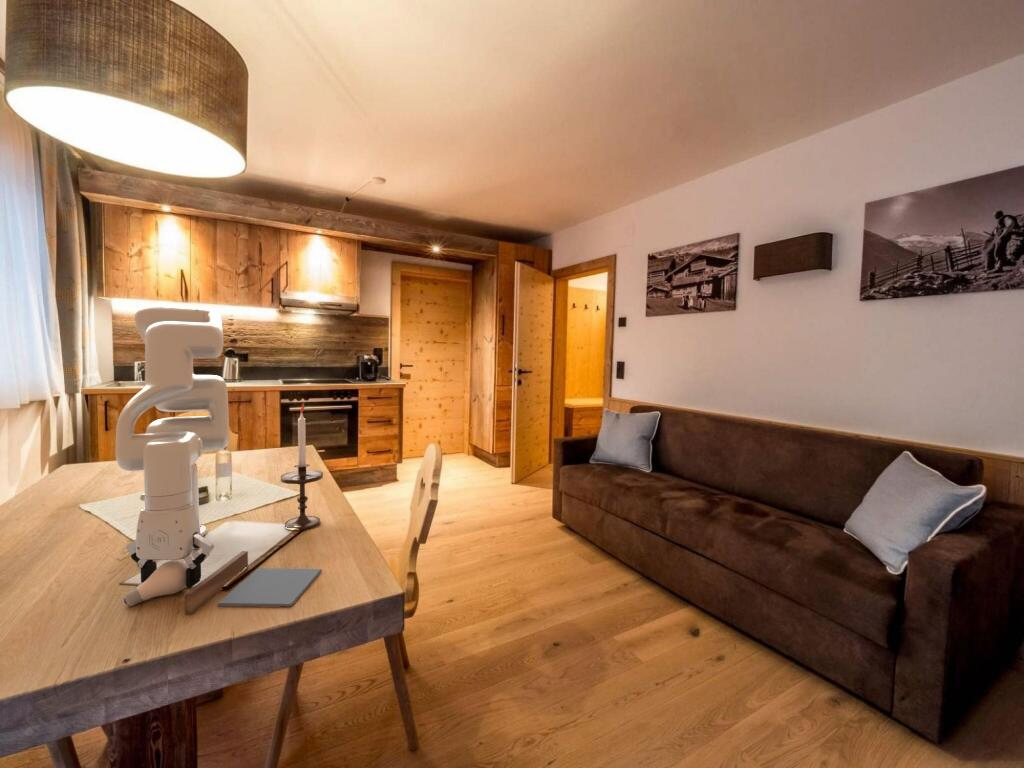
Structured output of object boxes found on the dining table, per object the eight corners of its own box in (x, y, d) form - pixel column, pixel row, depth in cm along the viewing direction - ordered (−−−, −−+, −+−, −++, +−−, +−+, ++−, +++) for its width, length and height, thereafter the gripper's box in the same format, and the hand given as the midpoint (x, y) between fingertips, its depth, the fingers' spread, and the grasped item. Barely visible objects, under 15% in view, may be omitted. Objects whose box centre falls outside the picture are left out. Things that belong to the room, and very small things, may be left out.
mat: (217, 606, 85) (217, 603, 85) (258, 570, 99) (258, 568, 99) (290, 606, 85) (290, 603, 85) (321, 571, 99) (321, 568, 99)
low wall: (184, 614, 82) (184, 594, 82) (242, 568, 100) (242, 551, 100) (191, 615, 82) (190, 594, 82) (248, 568, 100) (247, 551, 100)
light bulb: (118, 590, 81) (187, 555, 89) (114, 584, 86) (180, 551, 94) (133, 621, 82) (200, 583, 90) (129, 613, 87) (193, 578, 94)
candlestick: (312, 515, 133) (311, 399, 131) (330, 524, 127) (329, 402, 124) (274, 525, 125) (272, 402, 123) (291, 535, 118) (290, 405, 116)
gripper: (108, 505, 85) (111, 593, 86) (199, 506, 85) (202, 594, 86) (140, 493, 92) (143, 574, 93) (224, 494, 92) (226, 575, 93)
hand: (171, 584), depth 90 cm, fingers open, 8 cm apart
